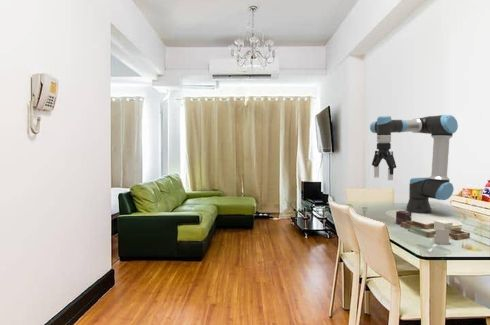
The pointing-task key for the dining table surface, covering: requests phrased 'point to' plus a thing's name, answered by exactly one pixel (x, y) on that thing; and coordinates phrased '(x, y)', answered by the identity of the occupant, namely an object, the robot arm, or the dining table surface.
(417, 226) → the trap channel
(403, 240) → the dining table surface
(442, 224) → the block
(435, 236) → the grey square block
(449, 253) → the dining table surface
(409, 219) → the box
